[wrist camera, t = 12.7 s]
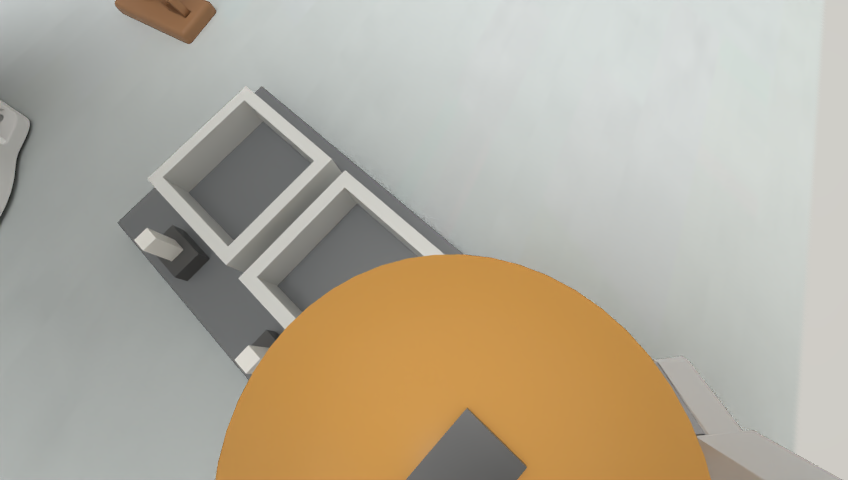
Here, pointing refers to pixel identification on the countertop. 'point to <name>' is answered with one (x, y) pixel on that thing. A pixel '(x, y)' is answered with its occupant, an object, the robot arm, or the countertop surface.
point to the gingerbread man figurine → (170, 15)
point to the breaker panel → (266, 223)
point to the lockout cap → (458, 385)
